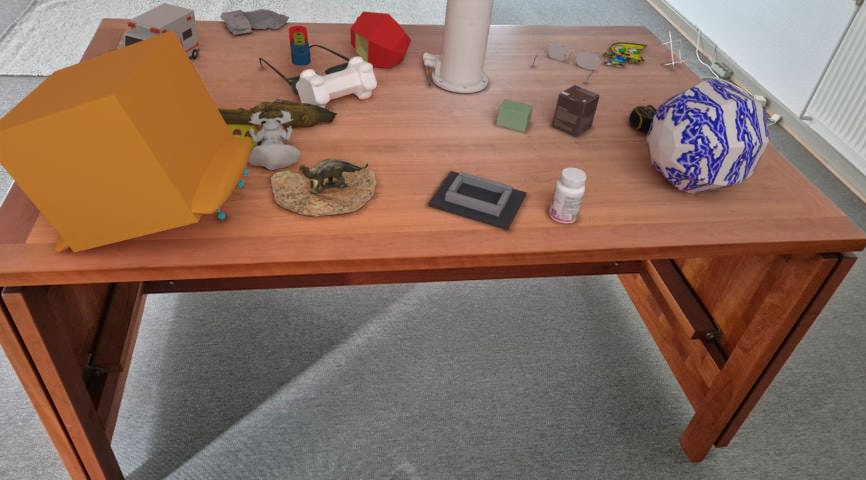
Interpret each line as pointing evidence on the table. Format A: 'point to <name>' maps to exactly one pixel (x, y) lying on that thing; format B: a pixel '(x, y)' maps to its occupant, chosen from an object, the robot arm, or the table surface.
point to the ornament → (708, 137)
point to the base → (478, 199)
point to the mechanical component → (299, 46)
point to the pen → (427, 73)
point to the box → (575, 110)
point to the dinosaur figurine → (324, 188)
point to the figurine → (272, 143)
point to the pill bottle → (568, 195)
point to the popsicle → (242, 131)
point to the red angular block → (379, 39)
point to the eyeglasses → (581, 57)
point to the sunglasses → (294, 80)
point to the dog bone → (337, 83)
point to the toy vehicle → (165, 27)
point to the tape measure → (642, 117)
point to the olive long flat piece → (270, 110)
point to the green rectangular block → (514, 115)
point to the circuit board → (280, 100)
